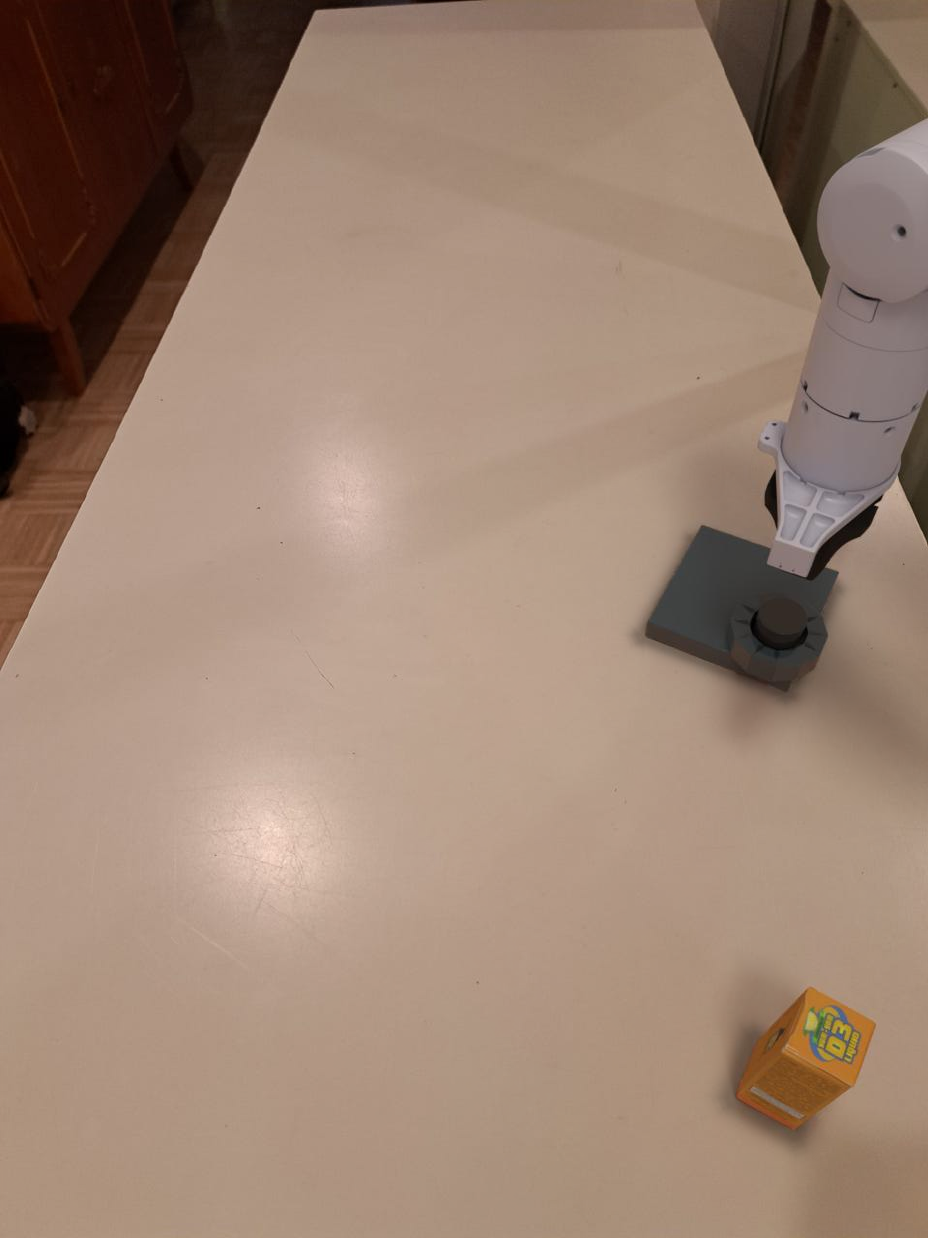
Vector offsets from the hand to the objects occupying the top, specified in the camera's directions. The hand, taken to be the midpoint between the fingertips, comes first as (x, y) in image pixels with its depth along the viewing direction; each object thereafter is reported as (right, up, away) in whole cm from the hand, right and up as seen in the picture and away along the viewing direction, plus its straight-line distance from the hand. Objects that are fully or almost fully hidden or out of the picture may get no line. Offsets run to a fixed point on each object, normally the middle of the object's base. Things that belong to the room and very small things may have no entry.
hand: (799, 567), depth 56 cm
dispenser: (-1, -3, +10) cm, 10 cm away
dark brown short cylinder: (0, -4, +5) cm, 6 cm away
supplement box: (-4, -27, -8) cm, 28 cm away
